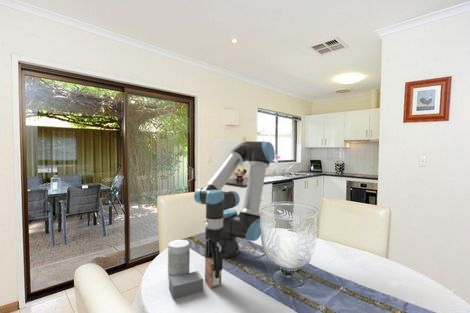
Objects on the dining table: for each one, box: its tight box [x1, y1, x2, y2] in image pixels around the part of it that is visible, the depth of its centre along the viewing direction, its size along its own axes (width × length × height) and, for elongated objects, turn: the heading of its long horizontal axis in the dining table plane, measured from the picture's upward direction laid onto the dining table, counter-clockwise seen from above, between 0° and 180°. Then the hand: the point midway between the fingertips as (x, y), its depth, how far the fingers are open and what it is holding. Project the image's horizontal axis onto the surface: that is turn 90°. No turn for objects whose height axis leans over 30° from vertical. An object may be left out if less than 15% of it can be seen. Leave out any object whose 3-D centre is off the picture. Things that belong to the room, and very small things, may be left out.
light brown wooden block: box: [204, 257, 222, 289], centre depth 101 cm, size 5×6×10 cm
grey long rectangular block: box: [168, 271, 204, 300], centre depth 96 cm, size 12×7×5 cm, turn 118°
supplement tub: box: [167, 239, 191, 278], centre depth 107 cm, size 10×10×15 cm
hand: (212, 280), depth 101 cm, fingers closed on light brown wooden block, 6 cm apart
